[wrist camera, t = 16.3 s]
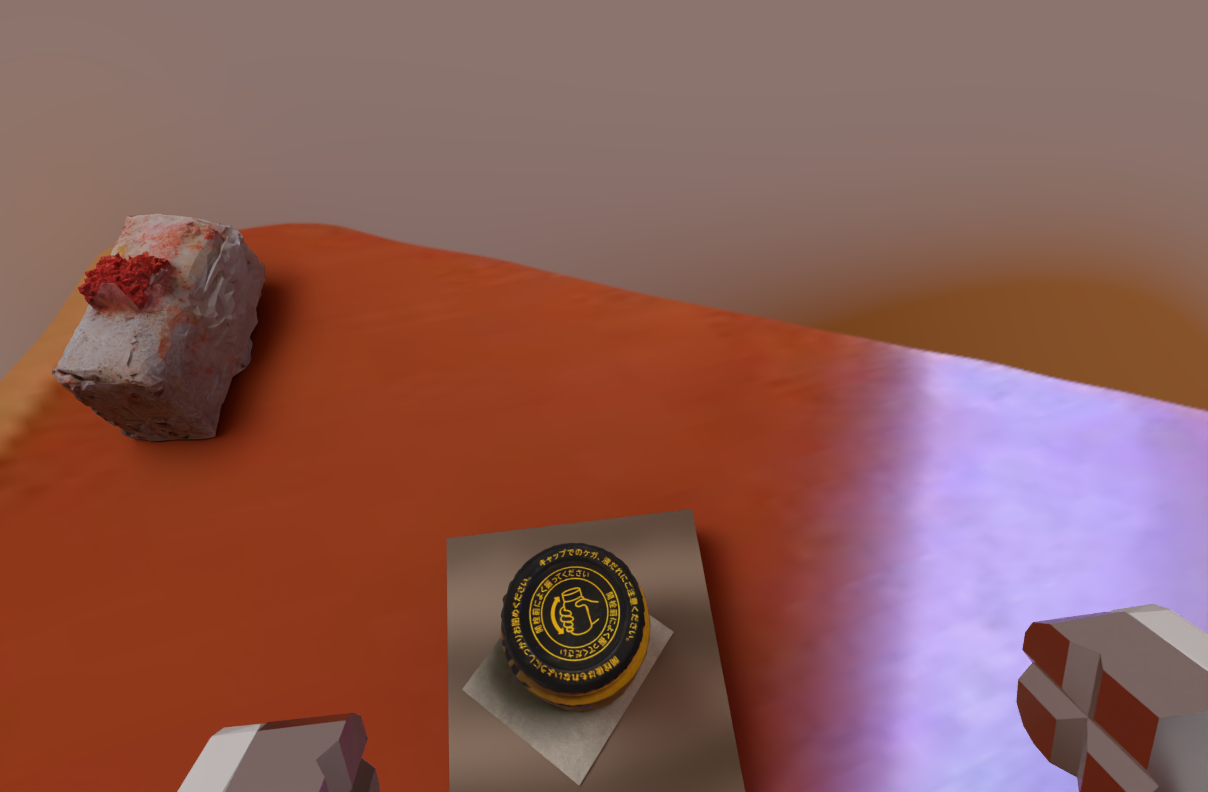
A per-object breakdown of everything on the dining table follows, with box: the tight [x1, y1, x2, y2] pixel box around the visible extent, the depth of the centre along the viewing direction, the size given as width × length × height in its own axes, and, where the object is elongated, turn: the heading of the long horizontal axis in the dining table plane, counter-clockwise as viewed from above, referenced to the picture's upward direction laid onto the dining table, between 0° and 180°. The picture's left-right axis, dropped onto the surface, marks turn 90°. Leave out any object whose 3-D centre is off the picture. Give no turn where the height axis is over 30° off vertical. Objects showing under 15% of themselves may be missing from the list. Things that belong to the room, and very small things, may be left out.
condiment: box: [462, 543, 673, 785], centre depth 28 cm, size 7×8×12 cm
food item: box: [52, 214, 266, 441], centre depth 42 cm, size 14×8×10 cm, turn 0°
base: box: [447, 509, 745, 792], centre depth 35 cm, size 14×14×4 cm
